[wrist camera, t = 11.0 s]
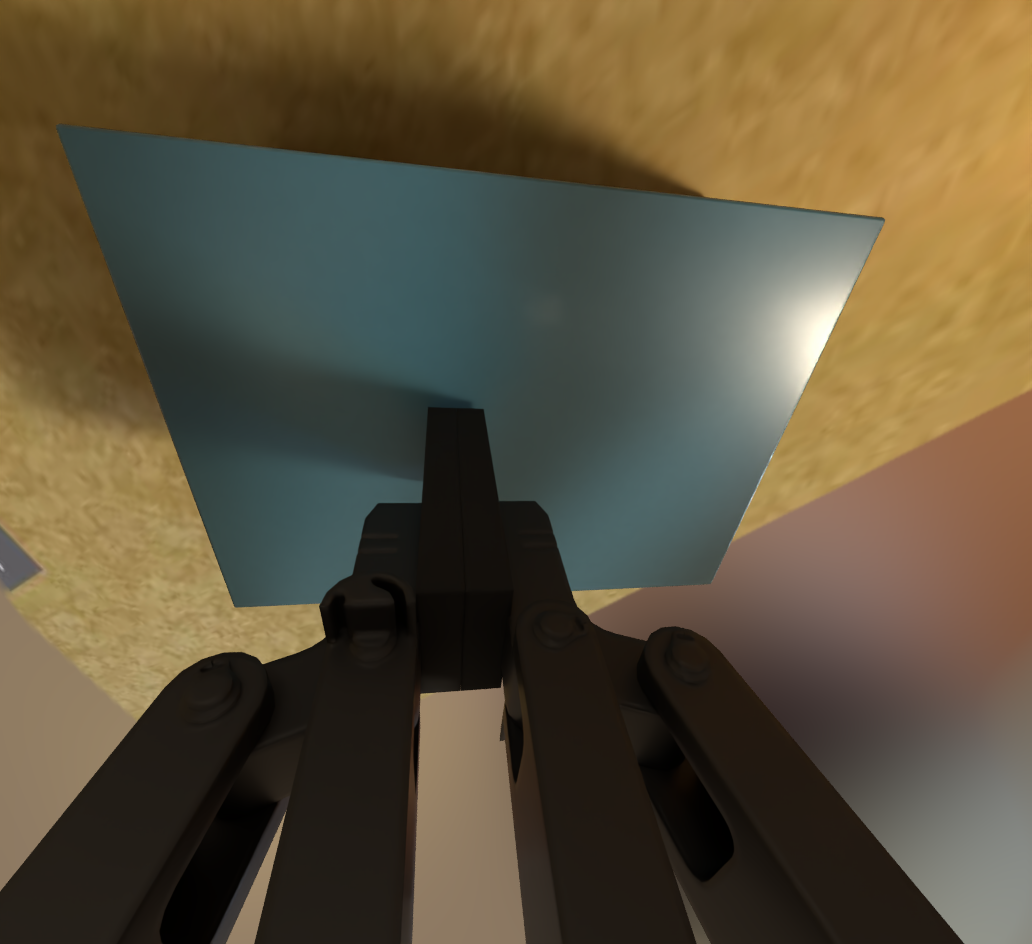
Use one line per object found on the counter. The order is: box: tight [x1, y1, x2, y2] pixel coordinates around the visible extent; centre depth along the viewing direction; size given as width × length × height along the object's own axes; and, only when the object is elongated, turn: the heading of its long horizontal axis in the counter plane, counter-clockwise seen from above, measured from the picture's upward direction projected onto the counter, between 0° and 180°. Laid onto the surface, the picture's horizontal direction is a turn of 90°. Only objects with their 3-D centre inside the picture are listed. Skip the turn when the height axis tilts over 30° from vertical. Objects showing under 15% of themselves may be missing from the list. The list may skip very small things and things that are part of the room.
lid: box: [56, 124, 885, 607], centre depth 14 cm, size 18×13×1 cm
